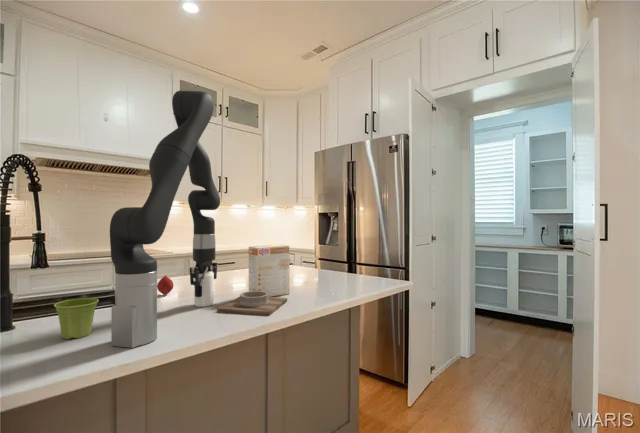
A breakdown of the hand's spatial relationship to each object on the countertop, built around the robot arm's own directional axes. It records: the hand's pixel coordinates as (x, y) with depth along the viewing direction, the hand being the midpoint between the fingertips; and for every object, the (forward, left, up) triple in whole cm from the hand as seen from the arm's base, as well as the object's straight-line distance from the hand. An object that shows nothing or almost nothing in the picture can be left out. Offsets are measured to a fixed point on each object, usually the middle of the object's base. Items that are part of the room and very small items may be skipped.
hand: (204, 294), depth 116 cm
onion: (+10, +23, -4) cm, 25 cm away
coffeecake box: (+19, -17, -4) cm, 26 cm away
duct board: (+2, -18, -4) cm, 18 cm away
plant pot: (-34, +16, -4) cm, 38 cm away
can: (0, 0, -4) cm, 4 cm away
